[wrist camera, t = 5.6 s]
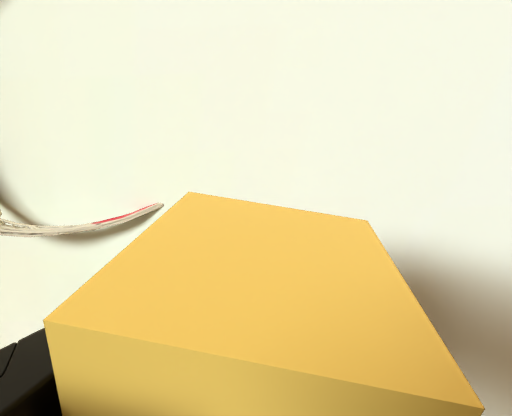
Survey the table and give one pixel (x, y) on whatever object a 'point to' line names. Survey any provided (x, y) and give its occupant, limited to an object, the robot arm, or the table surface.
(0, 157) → the table surface
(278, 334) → the mustard cube
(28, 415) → the robot arm
